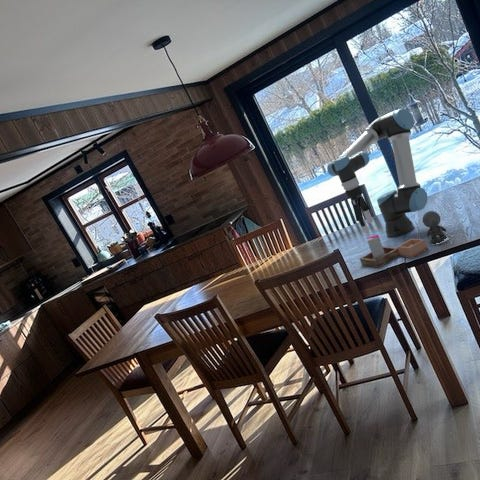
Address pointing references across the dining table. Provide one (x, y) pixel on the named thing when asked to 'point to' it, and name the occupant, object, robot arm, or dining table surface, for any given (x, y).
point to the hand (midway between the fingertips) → (368, 227)
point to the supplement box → (375, 246)
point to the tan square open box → (412, 248)
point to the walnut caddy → (389, 255)
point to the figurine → (434, 227)
